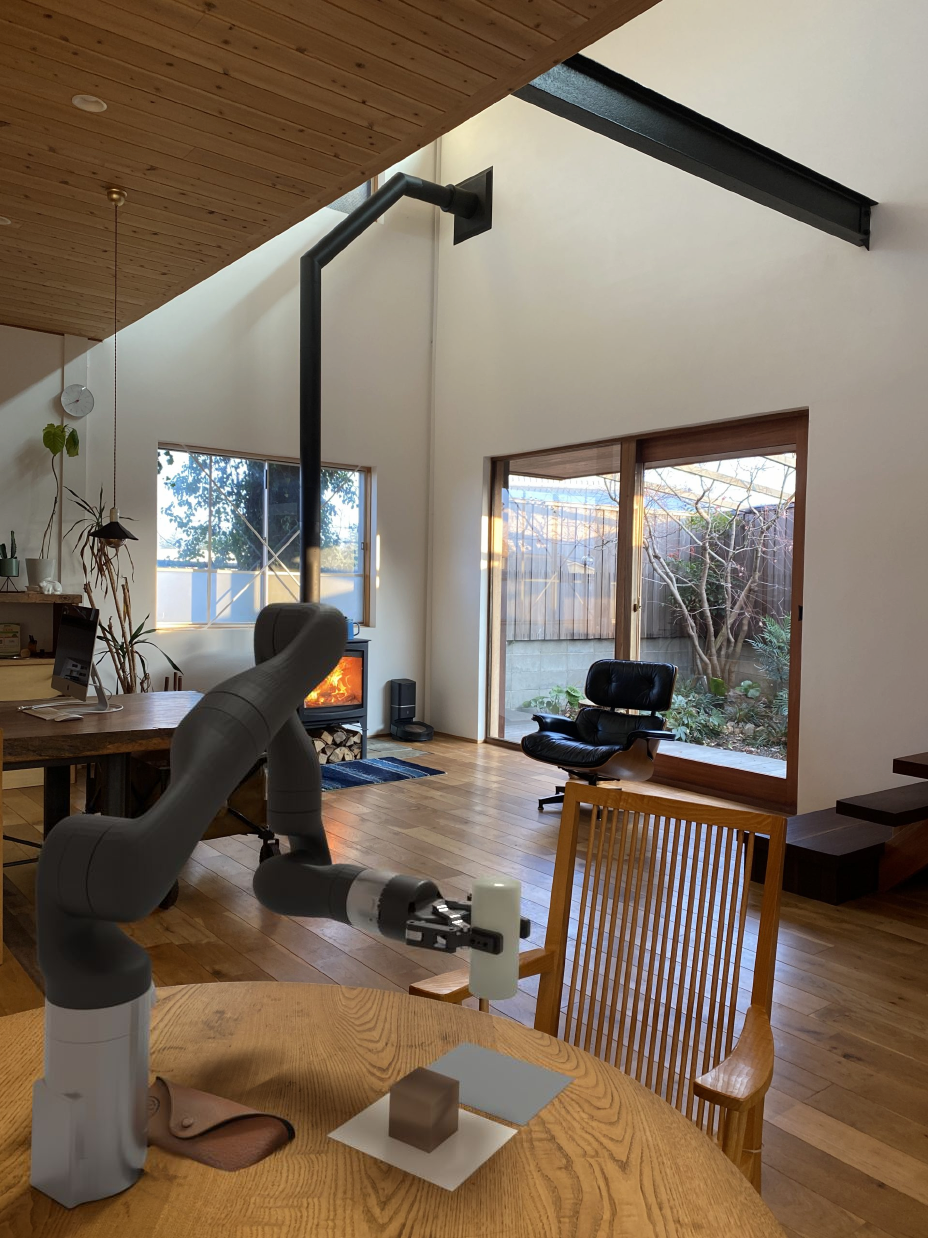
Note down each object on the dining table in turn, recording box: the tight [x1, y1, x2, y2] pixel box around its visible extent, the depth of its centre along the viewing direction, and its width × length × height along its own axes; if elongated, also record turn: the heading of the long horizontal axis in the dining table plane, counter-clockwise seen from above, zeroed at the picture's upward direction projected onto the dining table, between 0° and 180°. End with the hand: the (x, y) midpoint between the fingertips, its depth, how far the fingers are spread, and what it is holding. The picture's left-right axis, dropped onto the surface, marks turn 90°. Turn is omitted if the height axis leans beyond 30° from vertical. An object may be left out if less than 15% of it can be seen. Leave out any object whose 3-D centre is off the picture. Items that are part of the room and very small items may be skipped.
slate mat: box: [424, 1041, 576, 1128], centre depth 104 cm, size 12×15×1 cm
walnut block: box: [388, 1065, 460, 1154], centre depth 93 cm, size 5×5×5 cm
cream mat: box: [326, 1092, 519, 1192], centre depth 93 cm, size 12×15×1 cm
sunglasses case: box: [147, 1075, 296, 1173], centre depth 92 cm, size 18×7×7 cm
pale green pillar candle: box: [468, 875, 522, 1001], centre depth 104 cm, size 6×6×12 cm
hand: (514, 937), depth 102 cm, fingers closed on pale green pillar candle, 5 cm apart
